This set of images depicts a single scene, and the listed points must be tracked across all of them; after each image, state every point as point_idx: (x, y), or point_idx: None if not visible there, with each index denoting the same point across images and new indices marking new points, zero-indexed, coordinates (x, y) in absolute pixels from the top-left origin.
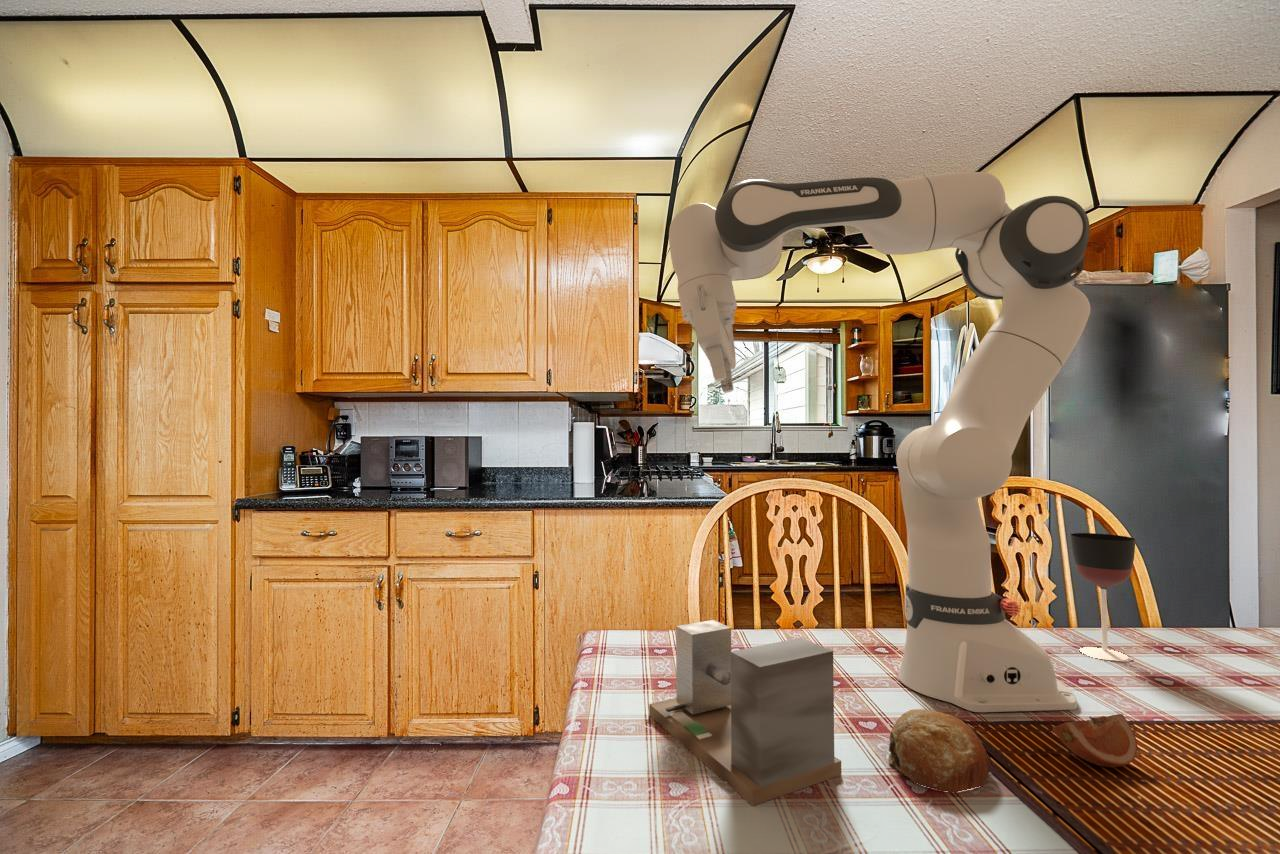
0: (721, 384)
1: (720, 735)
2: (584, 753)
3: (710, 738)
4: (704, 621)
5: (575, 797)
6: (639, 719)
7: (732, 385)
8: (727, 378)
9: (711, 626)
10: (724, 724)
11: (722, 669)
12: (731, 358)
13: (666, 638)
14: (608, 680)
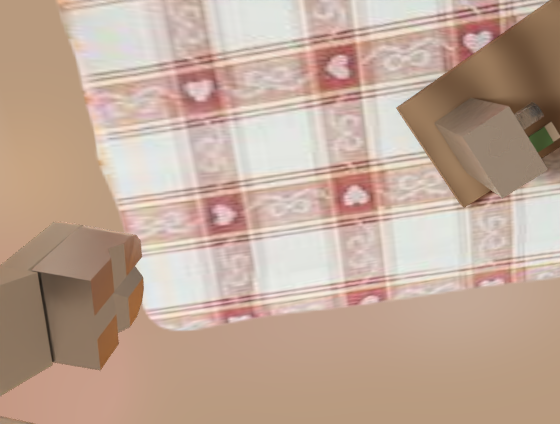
0: (115, 344)
1: (550, 111)
2: (556, 261)
3: (558, 123)
4: (473, 152)
5: None
6: (470, 214)
7: (92, 241)
8: (14, 320)
9: (502, 139)
10: (519, 106)
11: (530, 115)
12: (2, 421)
13: (161, 211)
14: (353, 272)
